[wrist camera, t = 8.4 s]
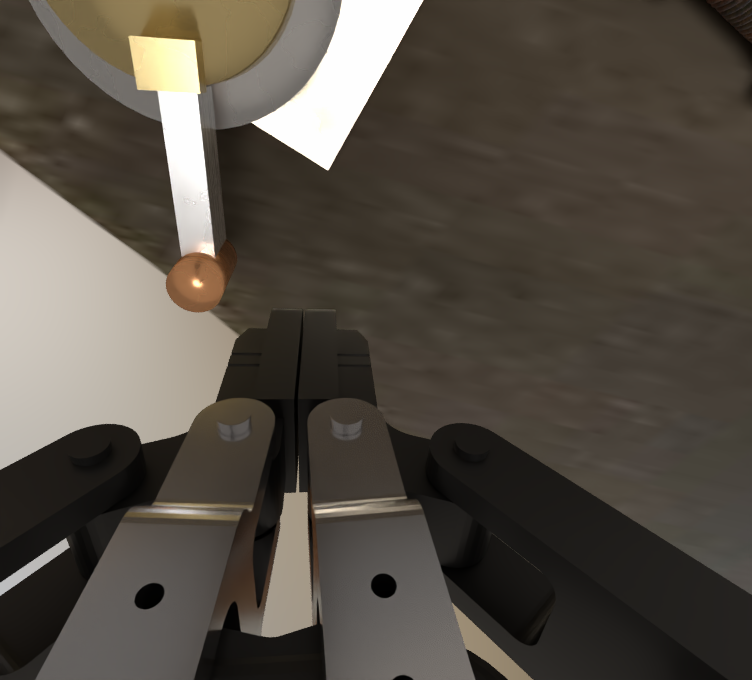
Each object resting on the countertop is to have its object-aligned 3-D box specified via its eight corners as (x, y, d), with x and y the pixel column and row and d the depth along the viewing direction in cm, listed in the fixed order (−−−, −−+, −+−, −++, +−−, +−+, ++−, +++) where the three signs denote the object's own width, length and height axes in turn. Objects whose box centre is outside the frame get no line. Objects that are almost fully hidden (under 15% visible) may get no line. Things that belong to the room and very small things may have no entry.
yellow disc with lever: (9, -248, 17) (-83, -338, 13) (300, -209, 18) (292, -281, 14) (122, 275, 27) (88, 310, 23) (305, 279, 28) (301, 314, 24)
